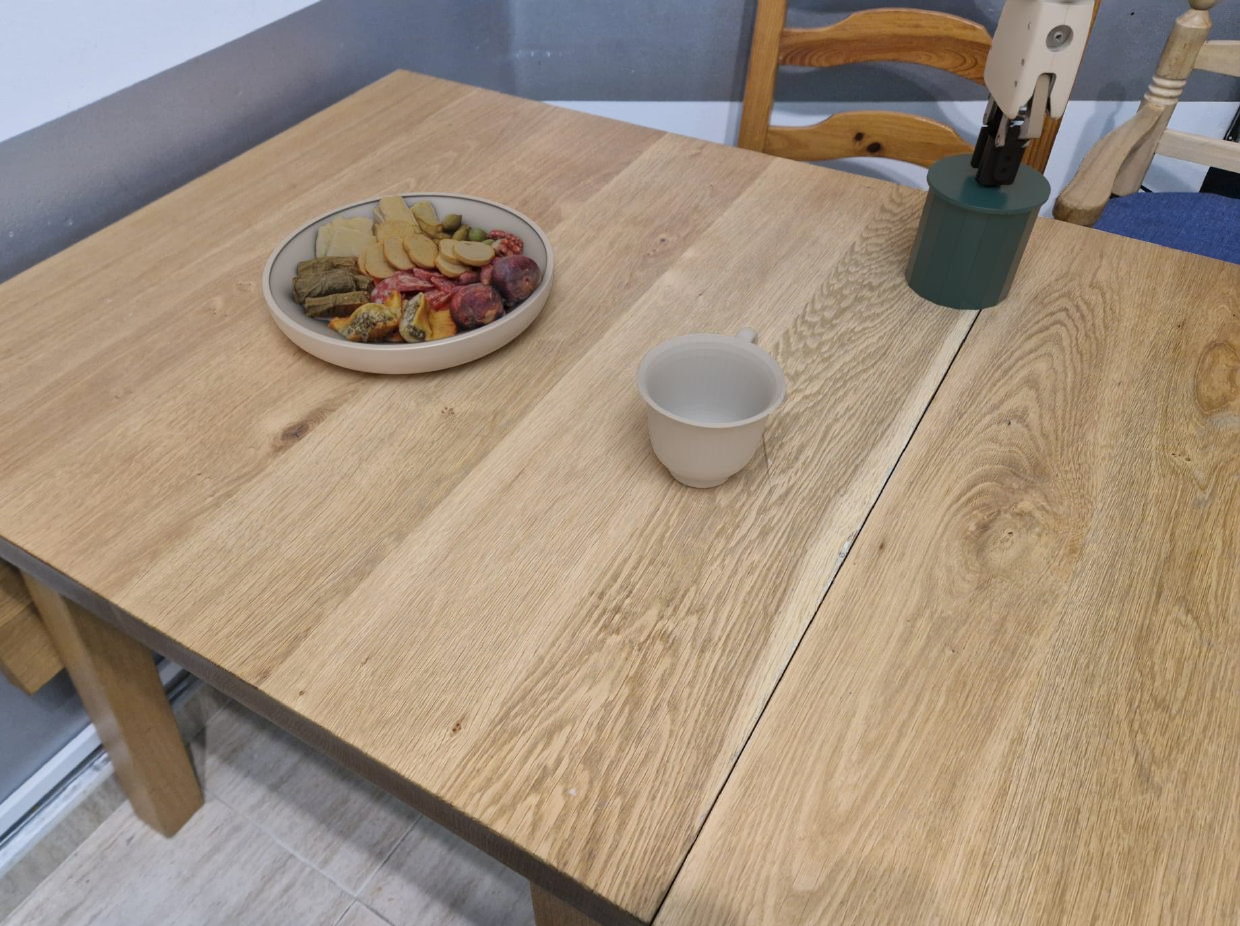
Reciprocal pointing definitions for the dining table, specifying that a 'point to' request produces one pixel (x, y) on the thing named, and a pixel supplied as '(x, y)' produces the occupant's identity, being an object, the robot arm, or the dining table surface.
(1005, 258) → the teal hollow cylinder
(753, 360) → the teacup
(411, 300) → the bowl
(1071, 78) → the robot arm
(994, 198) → the canister lid
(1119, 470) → the dining table surface
